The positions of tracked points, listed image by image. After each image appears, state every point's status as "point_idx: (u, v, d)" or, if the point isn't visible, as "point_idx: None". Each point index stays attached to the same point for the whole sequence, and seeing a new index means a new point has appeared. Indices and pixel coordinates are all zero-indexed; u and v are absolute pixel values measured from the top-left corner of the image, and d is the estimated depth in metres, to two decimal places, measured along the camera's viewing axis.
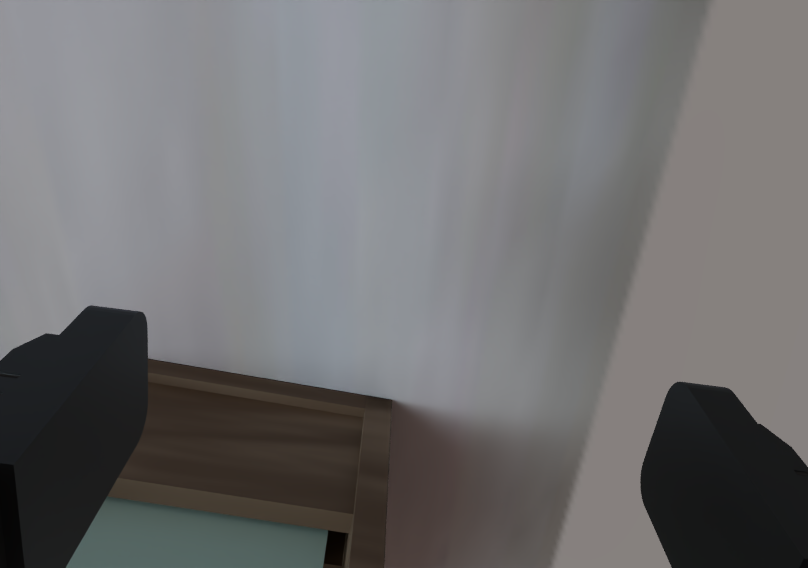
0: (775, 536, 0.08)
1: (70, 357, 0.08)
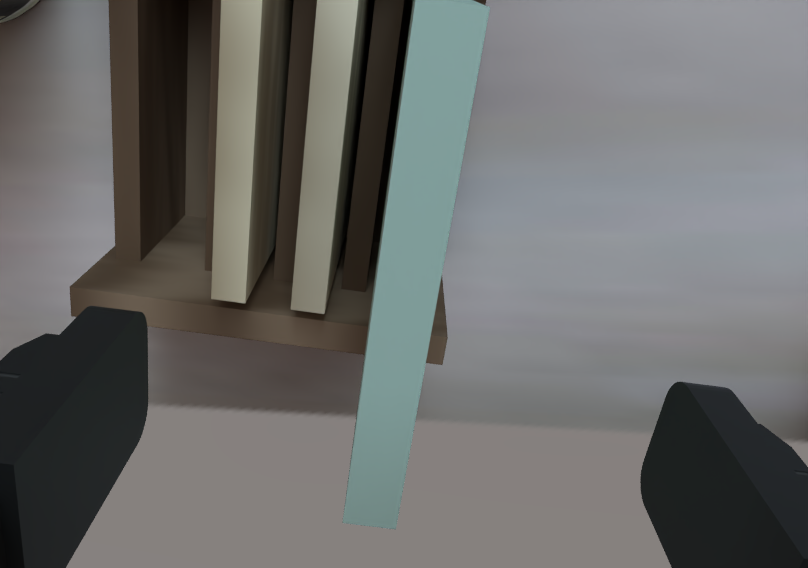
0: (776, 536, 0.08)
1: (70, 357, 0.08)
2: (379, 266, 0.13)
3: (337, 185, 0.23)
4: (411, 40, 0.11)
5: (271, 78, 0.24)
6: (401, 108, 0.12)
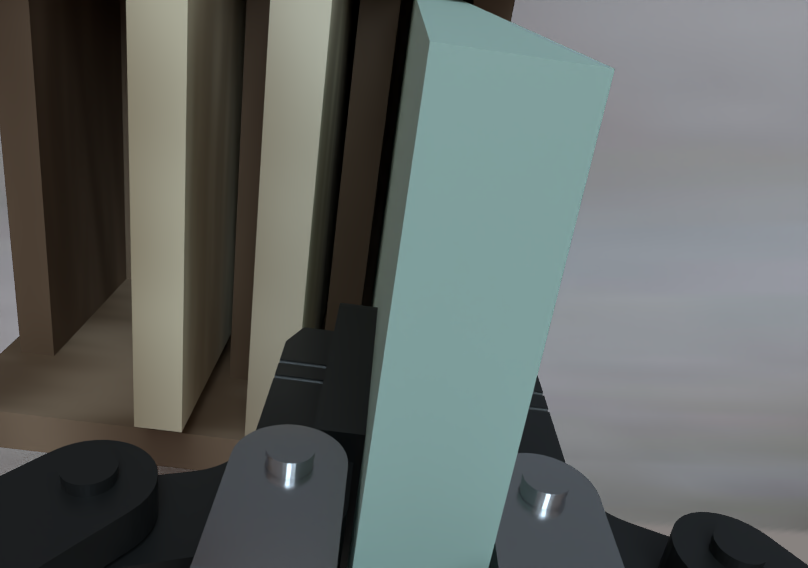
0: None
1: (356, 347, 0.10)
2: None
3: (305, 278, 0.16)
4: (418, 146, 0.05)
5: (213, 124, 0.17)
6: (395, 296, 0.05)
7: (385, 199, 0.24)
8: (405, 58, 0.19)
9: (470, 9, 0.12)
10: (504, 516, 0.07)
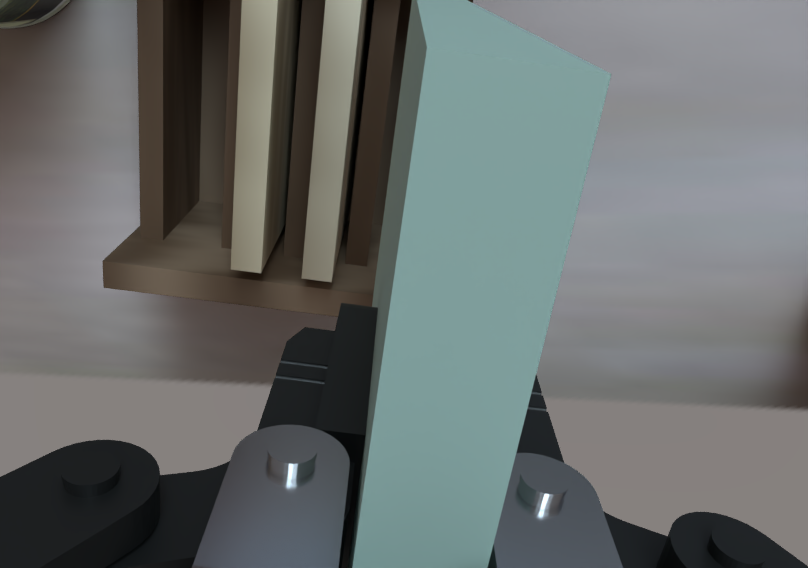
0: None
1: (357, 347, 0.10)
2: None
3: (343, 166, 0.26)
4: (415, 151, 0.05)
5: (283, 72, 0.27)
6: (393, 299, 0.05)
7: None
8: None
9: (470, 8, 0.12)
10: (502, 516, 0.07)
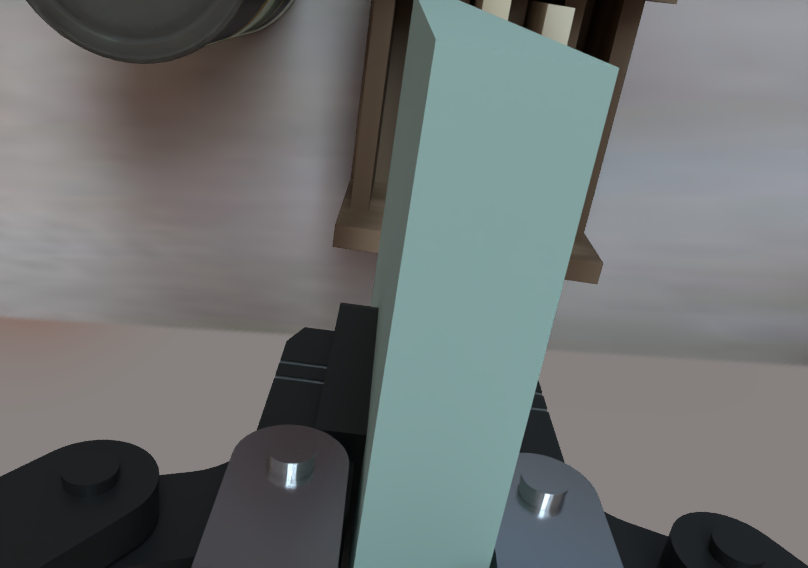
0: None
1: (357, 347, 0.10)
2: None
3: None
4: (423, 144, 0.05)
5: None
6: (399, 293, 0.05)
7: None
8: None
9: (472, 11, 0.12)
10: (503, 516, 0.07)
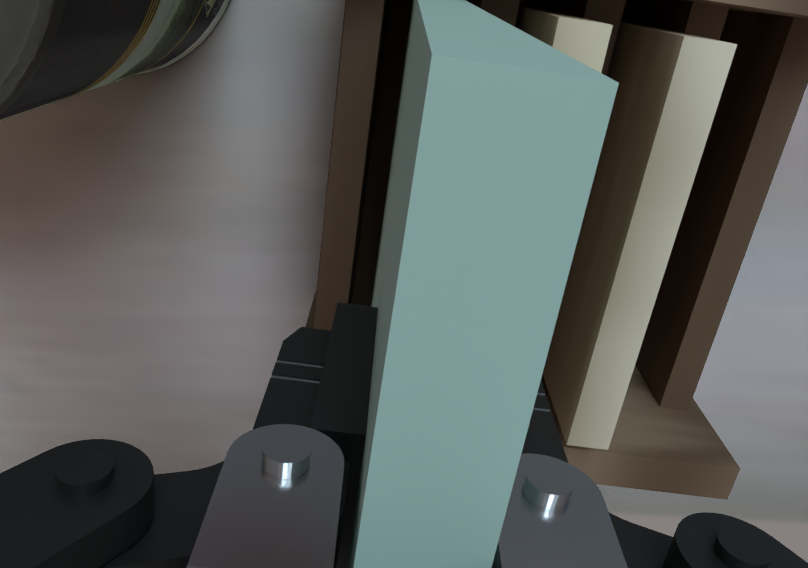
0: None
1: (353, 347, 0.10)
2: None
3: (654, 299, 0.18)
4: (419, 160, 0.05)
5: None
6: (395, 309, 0.05)
7: (385, 198, 0.24)
8: (406, 57, 0.19)
9: (471, 11, 0.11)
10: (508, 516, 0.07)
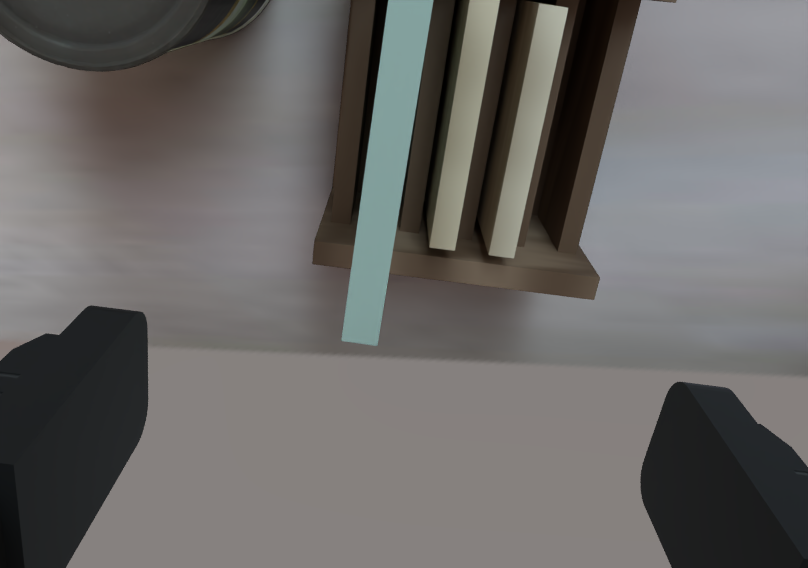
0: (775, 537, 0.08)
1: (70, 357, 0.08)
2: (367, 155, 0.20)
3: (534, 159, 0.31)
4: (388, 9, 0.19)
5: None
6: (382, 51, 0.19)
7: None
8: None
9: None
10: None
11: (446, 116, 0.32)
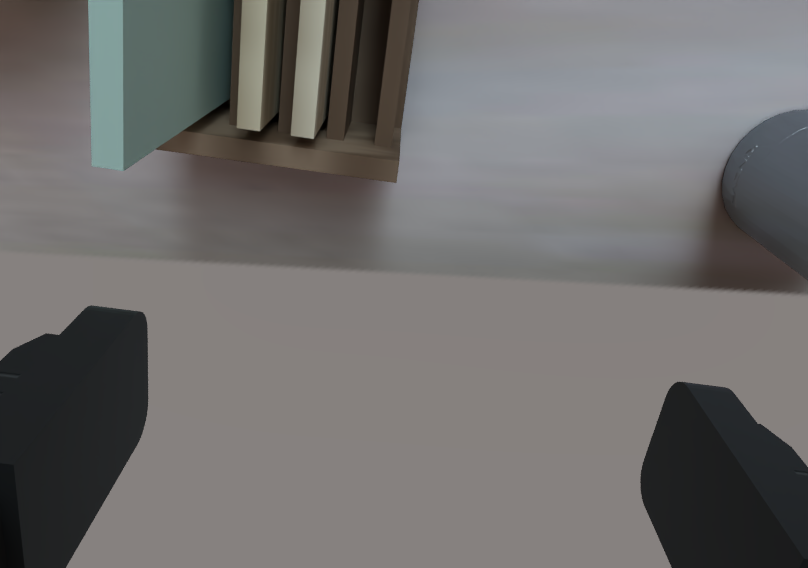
0: (775, 537, 0.08)
1: (70, 357, 0.08)
2: None
3: (321, 44, 0.34)
4: None
5: None
6: None
7: None
8: None
9: None
10: None
11: None
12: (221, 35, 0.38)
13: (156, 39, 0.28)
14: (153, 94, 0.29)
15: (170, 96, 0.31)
